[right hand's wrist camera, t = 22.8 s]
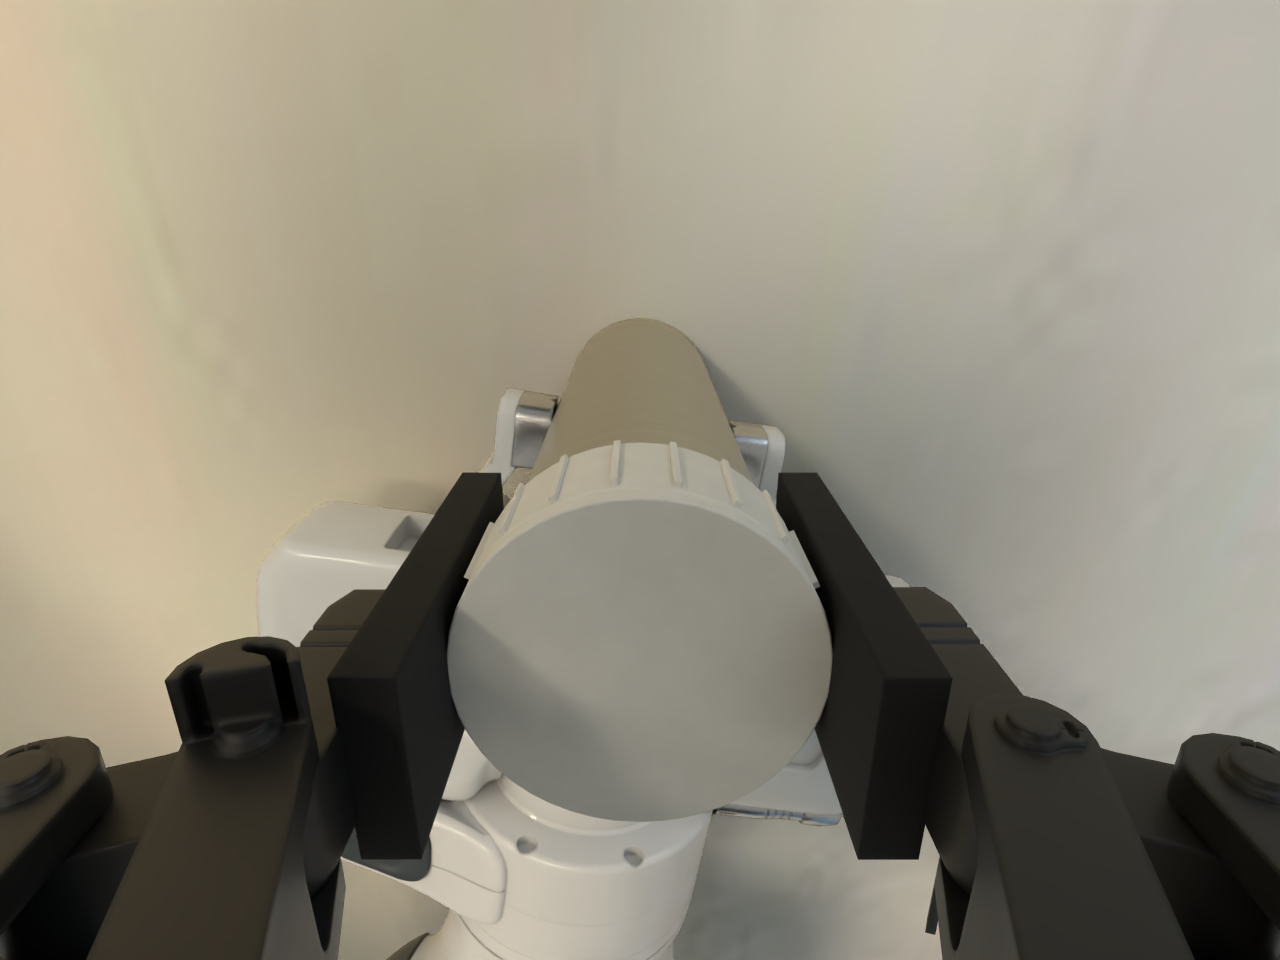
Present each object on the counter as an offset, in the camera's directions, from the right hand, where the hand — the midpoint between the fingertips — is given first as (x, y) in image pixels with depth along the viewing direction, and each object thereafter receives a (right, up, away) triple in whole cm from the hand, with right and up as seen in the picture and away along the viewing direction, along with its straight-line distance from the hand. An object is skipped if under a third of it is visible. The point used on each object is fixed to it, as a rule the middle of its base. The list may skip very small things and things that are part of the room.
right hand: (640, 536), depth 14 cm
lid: (0, -2, -4) cm, 4 cm away
